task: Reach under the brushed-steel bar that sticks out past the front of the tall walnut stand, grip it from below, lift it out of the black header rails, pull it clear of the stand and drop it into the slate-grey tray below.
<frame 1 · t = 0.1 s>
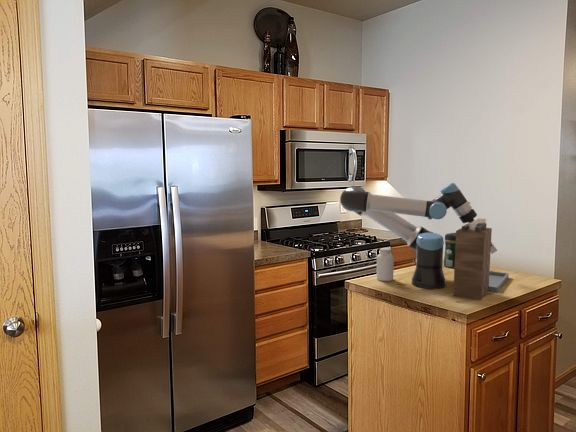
hand: (491, 249, 216), 15 cm above the countertop, tool tilted 35°, fingers open, 13 cm apart
slate tray: (482, 281, 217), on the countertop
steel bar: (477, 227, 199), point 28 cm above the countertop, touching walnut stand
pill bottle: (384, 279, 222), on the countertop
coffee jar: (452, 267, 249), on the countertop
walnut stand: (471, 293, 197), on the countertop
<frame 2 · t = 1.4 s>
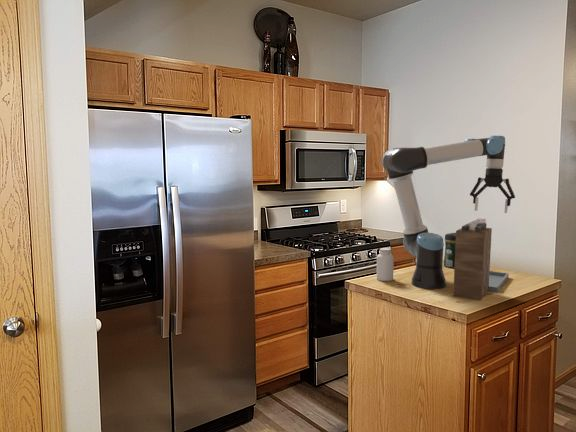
hand: (490, 211, 224), 32 cm above the countertop, tool pointing down, fingers open, 13 cm apart
nothing on the countertop moved.
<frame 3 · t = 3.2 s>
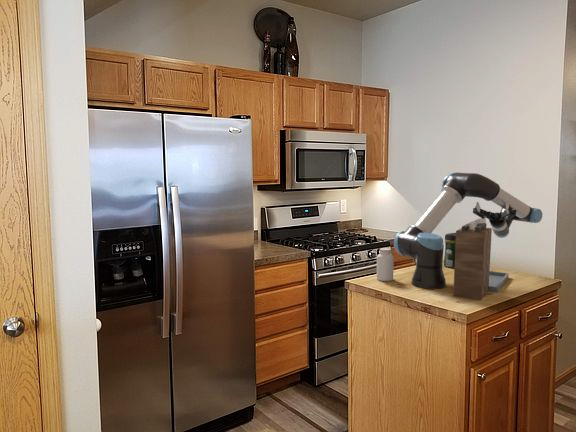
hand: (491, 205, 224), 36 cm above the countertop, tool pointing upward, fingers open, 13 cm apart
nothing on the countertop moved.
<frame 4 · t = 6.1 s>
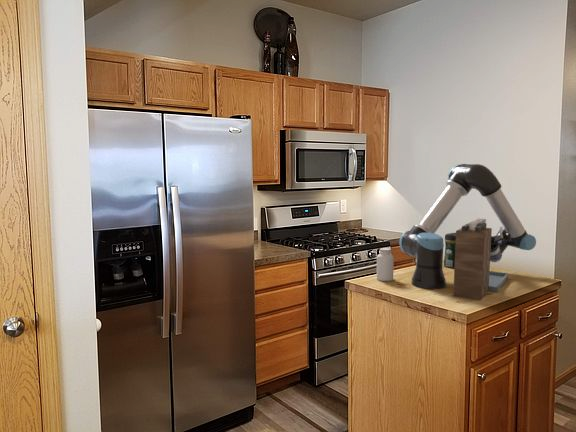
hand: (484, 228, 210), 26 cm above the countertop, tool pointing upward, fingers open, 13 cm apart
nothing on the countertop moved.
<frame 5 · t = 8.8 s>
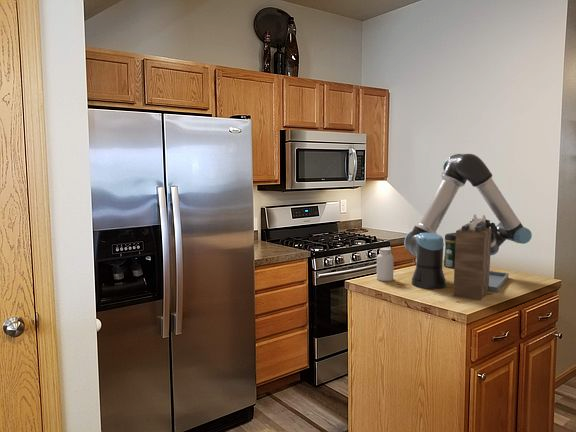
hand: (478, 217, 201), 32 cm above the countertop, tool pointing upward, fingers closed on steel bar, 3 cm apart
steel bar: (477, 227, 199), point 28 cm above the countertop, touching gripper, walnut stand
everything else where it was.
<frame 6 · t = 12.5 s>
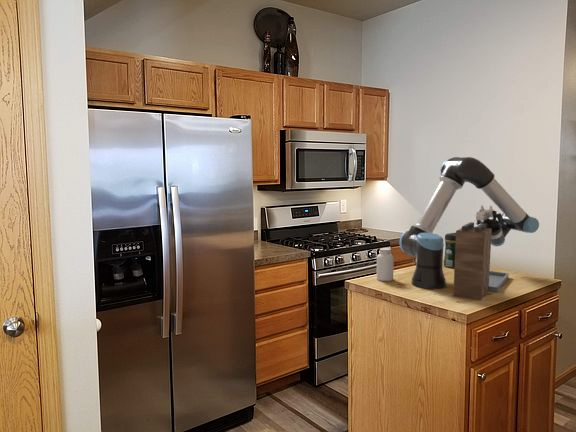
hand: (485, 208, 207), 36 cm above the countertop, tool pointing upward, fingers closed on steel bar, 3 cm apart
steel bar: (484, 218, 206), point 31 cm above the countertop, touching gripper
everything else where it was.
when the fingers open (25 cm above the countertop, at t = 16.2 s): steel bar drops 21 cm, resting on slate tray.
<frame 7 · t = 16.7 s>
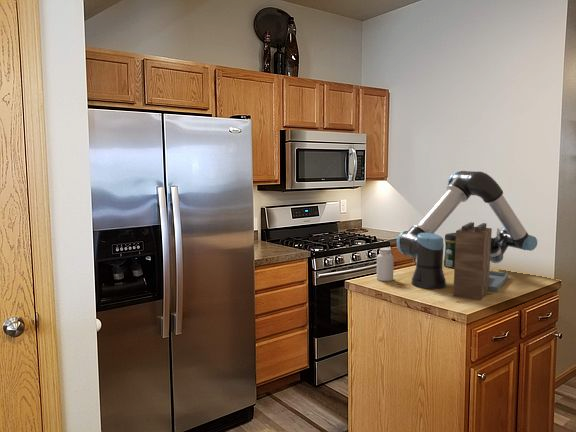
hand: (485, 230, 216), 25 cm above the countertop, tool pointing upward, fingers open, 10 cm apart
steel bar: (481, 281, 216), resting on slate tray
everything else where it was.
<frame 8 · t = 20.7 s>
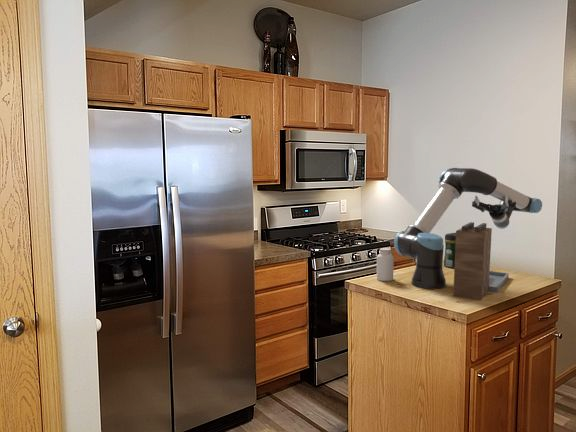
hand: (490, 198, 223), 39 cm above the countertop, tool pointing upward, fingers open, 13 cm apart
nothing on the countertop moved.
at the end: steel bar inside the target area on the slate tray (1.7 cm from its centre), point 0.5 cm above the slate tray's base; steel bar touching slate tray; the gripper is holding nothing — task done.
